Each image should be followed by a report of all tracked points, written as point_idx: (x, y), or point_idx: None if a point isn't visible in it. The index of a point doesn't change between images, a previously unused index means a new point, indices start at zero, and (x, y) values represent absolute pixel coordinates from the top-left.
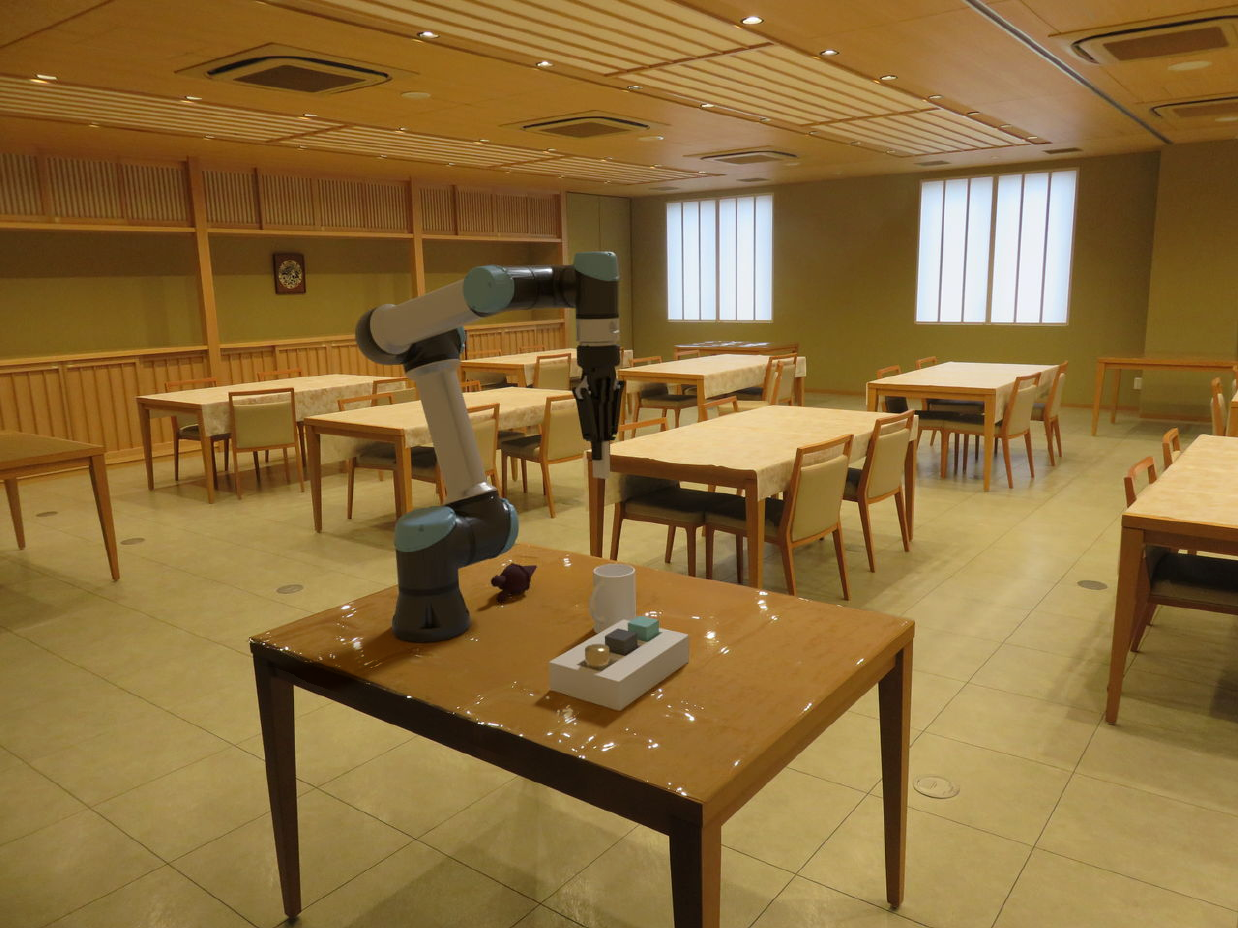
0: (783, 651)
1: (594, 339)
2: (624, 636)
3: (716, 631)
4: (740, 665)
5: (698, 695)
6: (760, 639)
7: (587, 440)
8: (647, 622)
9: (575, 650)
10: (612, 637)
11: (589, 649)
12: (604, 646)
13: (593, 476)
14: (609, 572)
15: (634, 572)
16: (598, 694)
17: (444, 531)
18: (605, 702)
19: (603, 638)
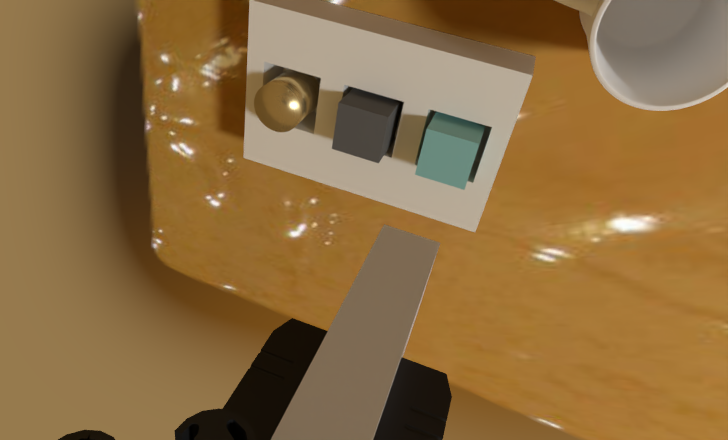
0: (565, 339)
1: None
2: (352, 143)
3: (655, 232)
4: (488, 281)
5: (361, 233)
6: (619, 308)
7: (199, 426)
8: (442, 169)
9: (320, 31)
10: (338, 120)
11: (267, 94)
12: (292, 118)
13: (381, 231)
14: None
15: (665, 109)
16: None
17: None
18: None
19: (401, 68)
